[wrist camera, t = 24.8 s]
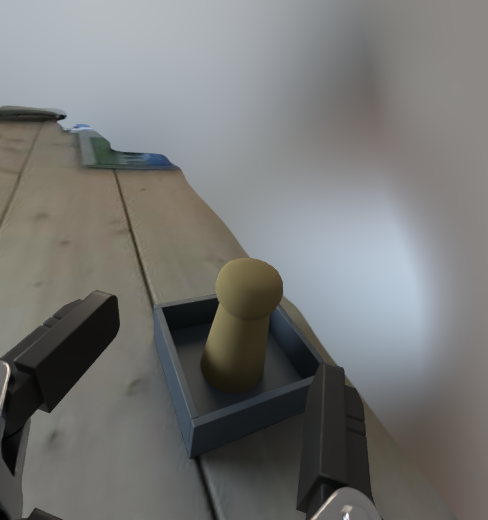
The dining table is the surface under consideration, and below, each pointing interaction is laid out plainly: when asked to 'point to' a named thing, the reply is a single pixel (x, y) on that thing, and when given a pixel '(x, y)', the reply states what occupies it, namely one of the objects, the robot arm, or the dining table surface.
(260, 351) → the cork
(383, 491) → the dining table surface
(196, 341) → the square tray
